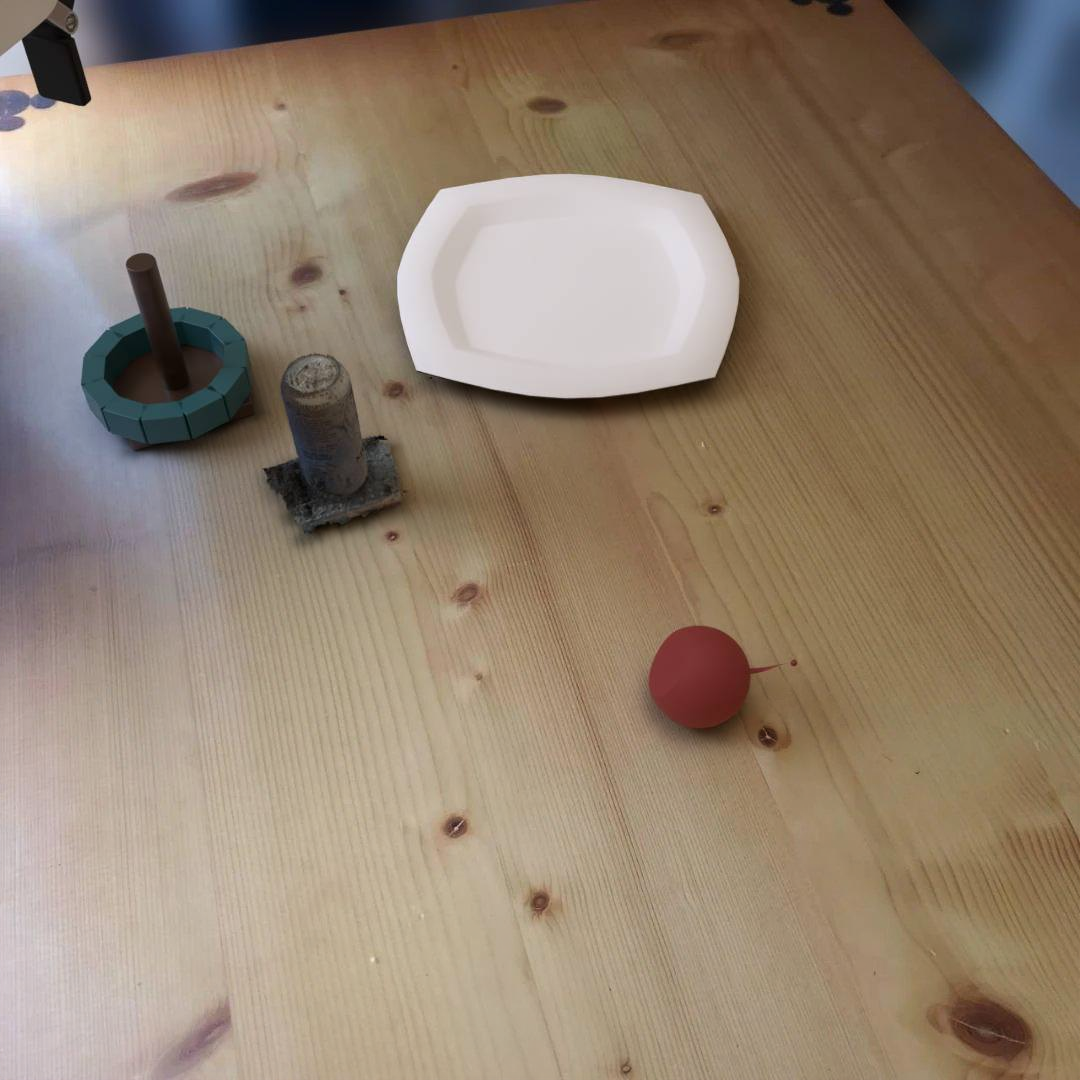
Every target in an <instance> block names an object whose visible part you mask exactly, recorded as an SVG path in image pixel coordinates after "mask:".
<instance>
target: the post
mask: <svg viewBox="0 0 1080 1080" xmlns="http://www.w3.org/2000/svg"><path fill="white" fill-rule="evenodd" d="M125 269H126V271H127V275H128V278H129V282H130V284H131V287H132V290H133V294H134V297H135V300H136V304H137V307H138V310H139V314H141V317H142V320H143V324H144V327H145V330H146V333H147V337H148V340H149V343H150V346H151V349H152V351H151V352H148V353H146V354H144V355H142V356H140V357H138V358H136V359H134V360H132V361H130V362H129V363H128V365H127V366H126V367H125V368H124V369H123V370H122V372H121V373H120V374H119V375H118V376H117V377H116V379H115V380H114V385H113V390H114V391H115V392H116V393H117V395H118V396H119V397H123V398H126V399H129V400H133V401H136V402H140V403H143V404H146V405H147V404H157V403H166V402H175V401H180V400H182V399H184V398H186V397H188V396H190V395H192V394H194V393H196V392H198V391H200V390H202V389H204V388H206V387H208V386H209V384H210V383H211V382H212V381H213V379H214V378H215V377H216V375H217V374H218V373H219V372H220V370H221V369H222V368H223V366H224V362H223V361H222V360H221V359H220V358H219V357H218V356H217V355H216V354H215V352H211V351H208V350H204V349H201V348H197V347H194V346H190V345H182V346H180V343H179V340H178V336H177V333H176V329H175V325H174V322H173V318H172V315H171V311H170V309H171V308H170V305H169V301H168V297H167V293H166V291H165V286H164V283H163V280H162V276H161V273H160V270H159V266H158V263H157V259H156V257H155V256H154V255H152V254H150V253H149V252H148V253H147V252H139V253H135V254H133V255H131V256H129V257H128V259H126V261H125ZM252 415H256V411H255V407H254V402H253V400H252V398H251V396H250V395H249V396H248V397H247V398H246V400H245V401H244V402H243V404H242V405H241V406H240V408H239V409H238V410H237V412H236V413H235V414H234V416H233V417H232V418H231V419H230V418H228V419H229V421H227V422H225V423H224V424H227V423H230V422H233V421H236V420H240V419H243V418H246V417H249V416H252ZM128 440H129V442H130V445H131V448H132V451H134V452H135V451H138V450H143V449H144V448H148V447H152V446H155V445H158V444H159V443H155V444H149V442H147V443H146V444H145V443H142V442H138V441H135V440H132V439H129V438H128Z"/></svg>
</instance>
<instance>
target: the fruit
mask: <svg viewBox="0 0 1080 1080" xmlns="http://www.w3.org/2000/svg"><path fill="white" fill-rule="evenodd" d="M787 664H790V666H791V667H796V666H797V665H798V660H796V659H791V660H790V662H787V663H780V664H773V665H771V666H763V667H750V663H749V660H748V658H747V655H746V653H745V651H744V650H743V648H742V647H741V645H740V644H739V643H738V642H737V640H735V639H734V637H732V636H731V635H729V634H728V633H727V632H725V631H723V630H721V629H718V628H716V627H712V626H708V625H689V626H685V627H681V628H679V629H676V630H674V631H673V632H672V633H670V634H669V635H668V636H667V637H666V638H665V639H664V641H663V642H662V643H661V645H660V646H659V648H658V649H657V652H656V654H655V655H654V658H653V660H652V662H651V666H650V670H649V674H648V689H649V692H650V695H651V698H652V700H653V701H654V704H655V705H656V706H657V708H658V709H659V710H660V711H661V713H662V714H663V715H665V716H666V717H667V718H668V719H670V720H671V721H672V722H674V723H676V724H679V725H681V726H684V727H687V728H693V729H708V728H713V727H717V726H719V725H721V724H723V723H725V722H727V721H728V720H730V719H731V718H732V717H733V716H735V715H736V714H737V713H738V712H739V710H740V709H741V708H742V706H743V705H744V703H745V702H746V699H747V697H748V694H749V691H750V687H751V677H752V675H755V674H760V673H764V672H766V671H770V670H773V669H775V668H777V667H781V666H783V665H787Z"/></svg>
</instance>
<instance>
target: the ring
mask: <svg viewBox="0 0 1080 1080" xmlns="http://www.w3.org/2000/svg"><path fill="white" fill-rule="evenodd" d="M170 311H171V315H172V318H173V322H174V325H175V329H176V333H177V336H178V340H179V343H180V346H182V345H190V346H194V347H197V348H201V349H204V350H208V351H211V352H215V354H216V355H217V356H218V357H219V358H220V359H221V360H222V361H223V362H224V366H223V368H222V369H221V370H220V372H219V373H218V374H217V375H216V377H215V378H214V379H213V381H212V382H211V383H210V384H209V386H208V387H206V388H204V389H202V390H200V391H198V392H196V393H194V394H192V395H190V396H188V397H186V398H184V399H182V400H180V401H175V402H166V403H157V404H147V405H146V404H143V403H140V402H136V401H133V400H129V399H126V398H123V397H119V396H118V395H117V393H116V392H115V391H114V390H113V385H114V380H115V379H116V377H117V376H118V375H119V374H120V373H121V372H122V370H123V369H124V368H125V367H126V366H127V365H128V363H129V362H130V361H132V360H134V359H136V358H138V357H140V356H142V355H144V354H146V353H148V352H151V351H152V349H151V346H150V343H149V340H148V337H147V333H146V330H145V327H144V324H143V320H142V317H141V314H140V313H137V314H135V315H133V316H131V317H129V318H127V319H123V320H122V321H120V322H118V323H116V324H114V325H112V326H109V327H108V329H106V330H105V331H104V332H102V334H101V335H100V336H99V337H98V338H97V340H96V341H95V342H94V343H93V344H92V345H91V346H90V347H89V348H88V350H86V352H85V353H84V355H83V357H82V367H81V378H80V386H81V388H82V391H83V394H84V397H85V399H86V402H87V404H88V407H89V410H90V411H91V412H92V414H93V415H94V416H95V417H96V419H97V420H98V421H99V422H100V424H102V426H103V427H104V428H105V429H106V431H107V432H110V433H111V434H112V435H116V436H118V437H122V438H126V439H128V440H129V439H132V440H135V441H138V442H142V443H145V444H146V443H147V442H149V444H155V443H158V444H163V443H171V442H180V441H181V442H183V441H189V440H191V438H192V439H196V438H199V437H200V436H202V435H204V434H206V433H208V432H210V431H212V430H214V429H215V428H217V427H219V426H221V425H223V424H226V423H225V422H227V421H229V419H228V418H230V419H231V418H232V417H233V416H234V414H235V413H236V412H237V410H238V409H239V408H240V406H241V405H242V404H243V402H244V401H245V400H246V398H247V397H248V396H250V395H251V393H252V392H251V391H252V361H251V358H250V353H249V349H248V344H247V340H246V339H245V337H244V335H242V334H241V333H240V332H239V331H238V330H237V329H236V328H235V327H234V326H233V324H231V323H230V322H229V321H228V319H226V318H225V317H223V316H222V315H219V314H216V313H212V312H207V311H203V310H200V309H197V308H194V307H190V306H189V307H186V306H183V307H182V306H181V307H172V308H170ZM227 423H228V422H227ZM155 445H156V444H155Z"/></svg>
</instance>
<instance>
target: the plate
mask: <svg viewBox="0 0 1080 1080" xmlns="http://www.w3.org/2000/svg"><path fill="white" fill-rule="evenodd" d="M708 205H709V204H708V203H707V202H706V201H705V199H704V197H703V195H702V194H700V193H695V192H691V191H686V190H682V189H677V188H672V187H668V186H662V185H657V184H653V183H647V182H642V181H638V180H632V179H627V178H626V179H625V178H619V177H610V176H605V175H595V174H594V175H592V174H581V173H580V174H579V173H578V174H577V173H554V174H553V173H551V174H536V175H535V174H534V175H525V176H517V177H515V176H514V177H506V178H502V179H501V178H500V179H493V180H488V181H481V182H474V183H468V184H464V185H459V186H458V185H457V186H452V187H445V188H442V189H439V191H438V192H437V193H436V195H435V196H434V198H433V199H432V201H431V202H430V204H429V205H428V207H427V208H426V210H425V211H424V213H423V214H422V216H421V218H420V219H419V222H418V223H417V225H416V226H415V228H414V229H413V231H412V234H411V236H410V238H409V240H408V242H407V244H406V247H405V249H404V250H403V254H402V256H401V260H400V264H399V267H398V270H397V273H396V274H397V276H396V277H397V279H396V280H397V282H396V283H397V288H396V290H397V293H396V297H397V303H398V308H399V309H398V310H399V314H400V315H399V316H400V322H401V325H402V329H403V333H404V336H405V341H406V345H407V347H408V350H409V353H410V356H411V358H412V362H413V365H414V367H415V370H416V372H417V373H420V374H425V375H428V376H432V377H436V378H440V379H442V380H443V379H444V380H448V381H451V382H455V383H459V384H462V385H463V384H464V385H468V386H470V387H471V386H472V387H476V388H481V389H485V390H488V391H493V392H498V393H505V394H510V395H511V394H512V395H516V396H522V397H529V398H541V399H542V398H543V399H556V400H588V399H589V400H591V399H592V400H593V399H594V400H595V399H605V398H613V397H622V396H630V395H638V394H639V395H640V394H643V393H644V394H645V393H648V392H654V391H660V390H664V389H671V388H675V387H681V386H684V385H685V386H686V385H690V384H694V383H698V382H704V381H709V380H713V379H715V378H716V375H717V374H718V371H719V368H720V366H721V364H722V361H723V358H724V356H725V353H726V350H727V347H728V344H729V342H730V339H731V335H732V332H733V329H734V326H735V321H736V320H735V319H736V315H737V311H738V306H739V298H740V297H739V295H740V277H739V273H738V270H737V265H736V261H735V257H734V255H733V253H732V250H731V248H730V246H729V243H728V240H727V239H726V236H725V234H724V232H723V230H722V228H721V227H720V225H719V222H718V221H717V218H716V217H715V215H714V214H713V212H712V210H711V209H710V207H709V206H708Z"/></svg>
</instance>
